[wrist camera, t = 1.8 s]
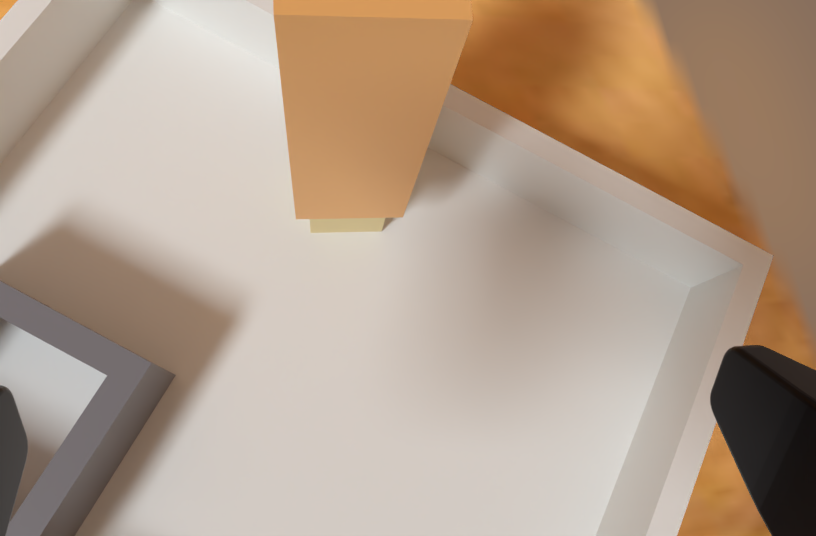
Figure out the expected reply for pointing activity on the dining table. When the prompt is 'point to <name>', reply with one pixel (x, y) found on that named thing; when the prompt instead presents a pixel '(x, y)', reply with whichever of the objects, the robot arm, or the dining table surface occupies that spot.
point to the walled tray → (331, 307)
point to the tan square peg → (363, 101)
